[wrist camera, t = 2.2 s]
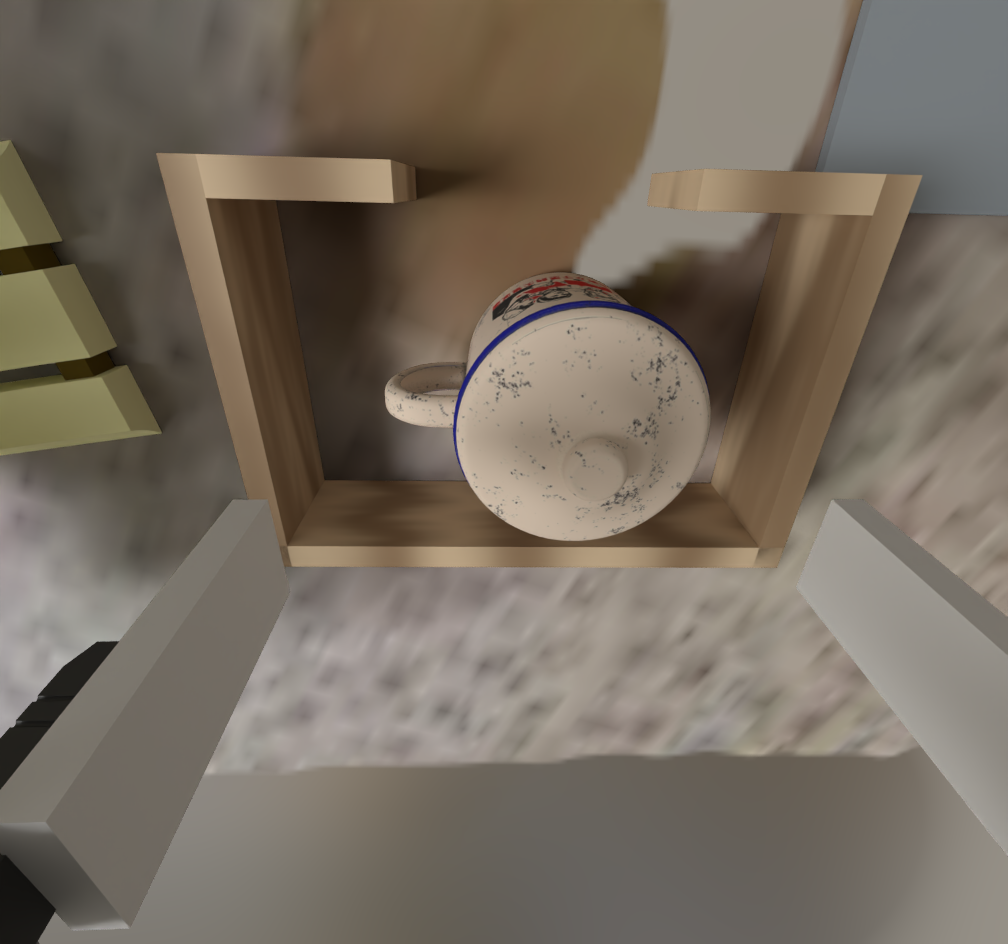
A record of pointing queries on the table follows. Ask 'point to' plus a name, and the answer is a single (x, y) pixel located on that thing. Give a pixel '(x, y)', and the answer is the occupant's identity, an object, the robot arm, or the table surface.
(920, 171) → the mat
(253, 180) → the open enclosure
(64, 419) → the slatted curved stool
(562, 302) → the teacup with lid
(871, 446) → the table surface
